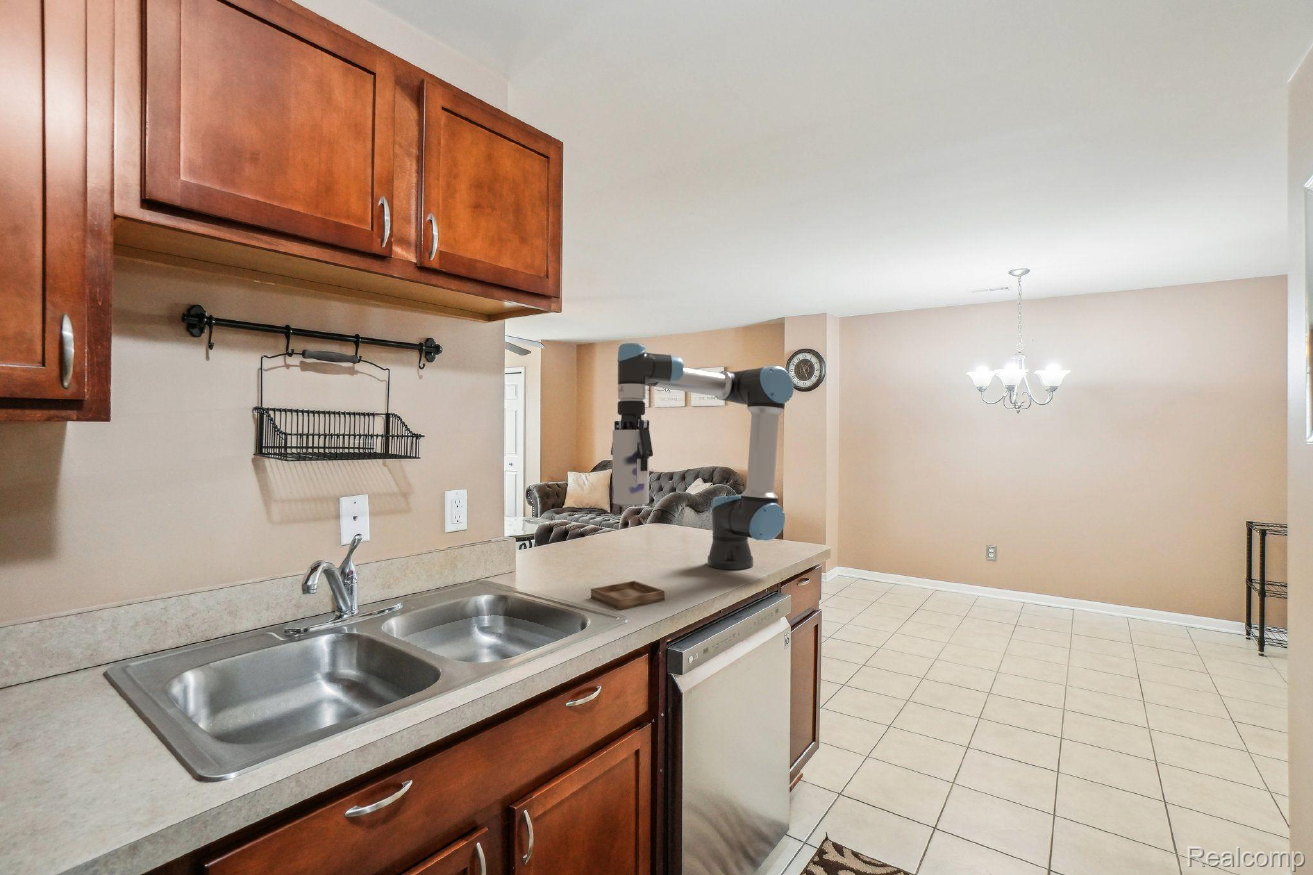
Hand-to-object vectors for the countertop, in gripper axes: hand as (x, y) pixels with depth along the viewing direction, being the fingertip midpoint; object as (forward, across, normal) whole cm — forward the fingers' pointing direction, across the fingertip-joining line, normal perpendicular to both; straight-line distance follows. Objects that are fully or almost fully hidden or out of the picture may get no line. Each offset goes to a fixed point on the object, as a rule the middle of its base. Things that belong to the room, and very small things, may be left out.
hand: (630, 482), depth 162 cm
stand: (+31, +4, -3) cm, 31 cm away
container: (+6, 0, 0) cm, 6 cm away
